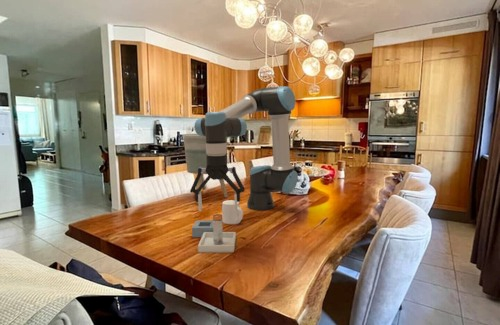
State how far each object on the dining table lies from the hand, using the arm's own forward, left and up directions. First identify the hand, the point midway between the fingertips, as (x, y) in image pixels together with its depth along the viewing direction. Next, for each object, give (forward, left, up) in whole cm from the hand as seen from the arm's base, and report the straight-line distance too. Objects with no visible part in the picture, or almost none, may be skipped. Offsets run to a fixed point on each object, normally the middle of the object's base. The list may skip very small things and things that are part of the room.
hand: (218, 210), depth 105 cm
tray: (0, 0, -14) cm, 14 cm away
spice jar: (0, 0, -13) cm, 13 cm away
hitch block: (+7, -11, -14) cm, 19 cm away
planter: (+15, -67, -14) cm, 70 cm away
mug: (-4, -25, -14) cm, 29 cm away
